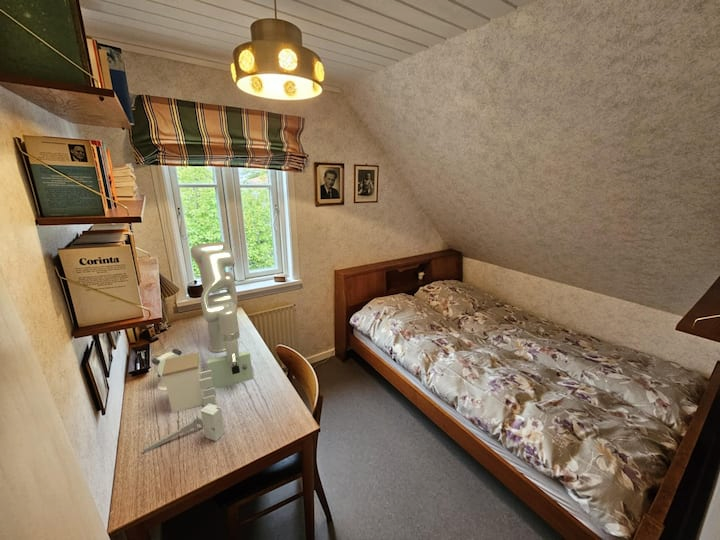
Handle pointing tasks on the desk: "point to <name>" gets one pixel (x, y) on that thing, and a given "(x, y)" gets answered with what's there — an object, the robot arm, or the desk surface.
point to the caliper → (176, 433)
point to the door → (230, 370)
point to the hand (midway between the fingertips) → (235, 367)
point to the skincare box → (212, 422)
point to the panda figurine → (160, 365)
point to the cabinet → (187, 383)
